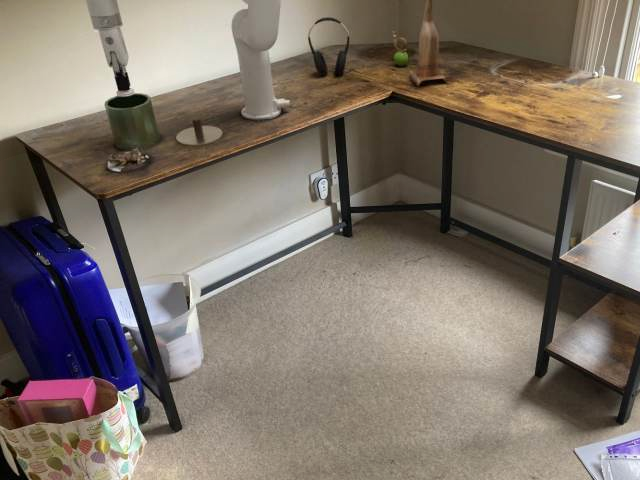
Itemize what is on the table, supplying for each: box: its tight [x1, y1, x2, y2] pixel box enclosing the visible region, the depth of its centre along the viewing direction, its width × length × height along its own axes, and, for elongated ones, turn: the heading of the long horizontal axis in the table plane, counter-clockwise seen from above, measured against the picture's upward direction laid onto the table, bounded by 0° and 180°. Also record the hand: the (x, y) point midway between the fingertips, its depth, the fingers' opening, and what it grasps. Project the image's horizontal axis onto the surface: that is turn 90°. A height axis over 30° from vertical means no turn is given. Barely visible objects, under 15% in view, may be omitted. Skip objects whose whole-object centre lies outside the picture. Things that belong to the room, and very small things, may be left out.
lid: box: [175, 117, 224, 147], centre depth 193 cm, size 14×14×6 cm
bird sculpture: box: [408, 0, 449, 87], centre depth 222 cm, size 11×12×32 cm
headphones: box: [307, 16, 350, 76], centre depth 232 cm, size 9×15×20 cm, turn 91°
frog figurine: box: [107, 148, 149, 173], centre depth 181 cm, size 12×12×4 cm
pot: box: [103, 92, 161, 151], centre depth 190 cm, size 13×13×12 cm
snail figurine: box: [391, 30, 409, 67], centre depth 242 cm, size 5×6×12 cm
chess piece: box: [116, 63, 136, 97], centre depth 182 cm, size 5×5×10 cm
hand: (124, 87), depth 184 cm, fingers closed on chess piece
